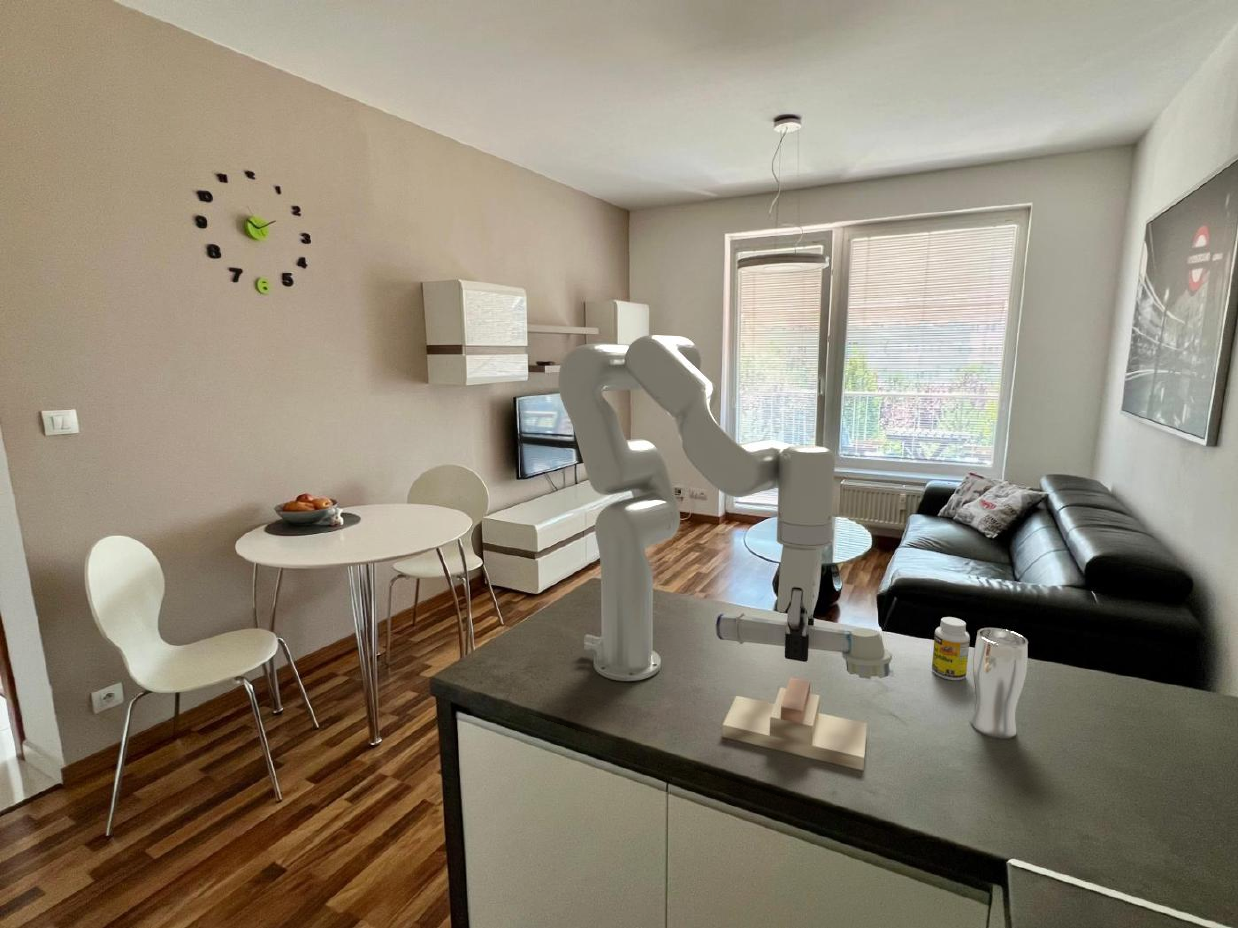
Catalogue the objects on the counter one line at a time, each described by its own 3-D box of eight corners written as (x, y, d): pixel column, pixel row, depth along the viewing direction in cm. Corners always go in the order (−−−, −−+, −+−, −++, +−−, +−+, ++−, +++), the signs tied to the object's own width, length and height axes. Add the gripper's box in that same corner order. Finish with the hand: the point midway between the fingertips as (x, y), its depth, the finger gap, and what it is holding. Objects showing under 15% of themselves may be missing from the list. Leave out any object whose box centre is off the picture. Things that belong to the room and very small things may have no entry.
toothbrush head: (726, 607, 101) (891, 620, 87) (730, 647, 101) (895, 666, 88) (712, 618, 97) (884, 634, 83) (717, 660, 97) (888, 682, 83)
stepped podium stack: (722, 736, 95) (723, 694, 93) (736, 706, 103) (737, 667, 101) (863, 770, 87) (866, 724, 85) (866, 735, 95) (868, 692, 94)
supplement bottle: (924, 670, 115) (928, 617, 113) (946, 664, 117) (950, 612, 115) (951, 684, 110) (956, 629, 108) (973, 678, 112) (978, 624, 110)
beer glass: (1001, 745, 92) (1011, 650, 90) (957, 721, 98) (965, 632, 96) (1029, 732, 95) (1039, 640, 93) (985, 710, 101) (993, 623, 99)
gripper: (786, 516, 99) (782, 624, 102) (766, 545, 83) (762, 671, 86) (836, 520, 96) (831, 631, 99) (825, 551, 80) (819, 682, 83)
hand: (799, 649), depth 92 cm, fingers closed on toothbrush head, 5 cm apart
